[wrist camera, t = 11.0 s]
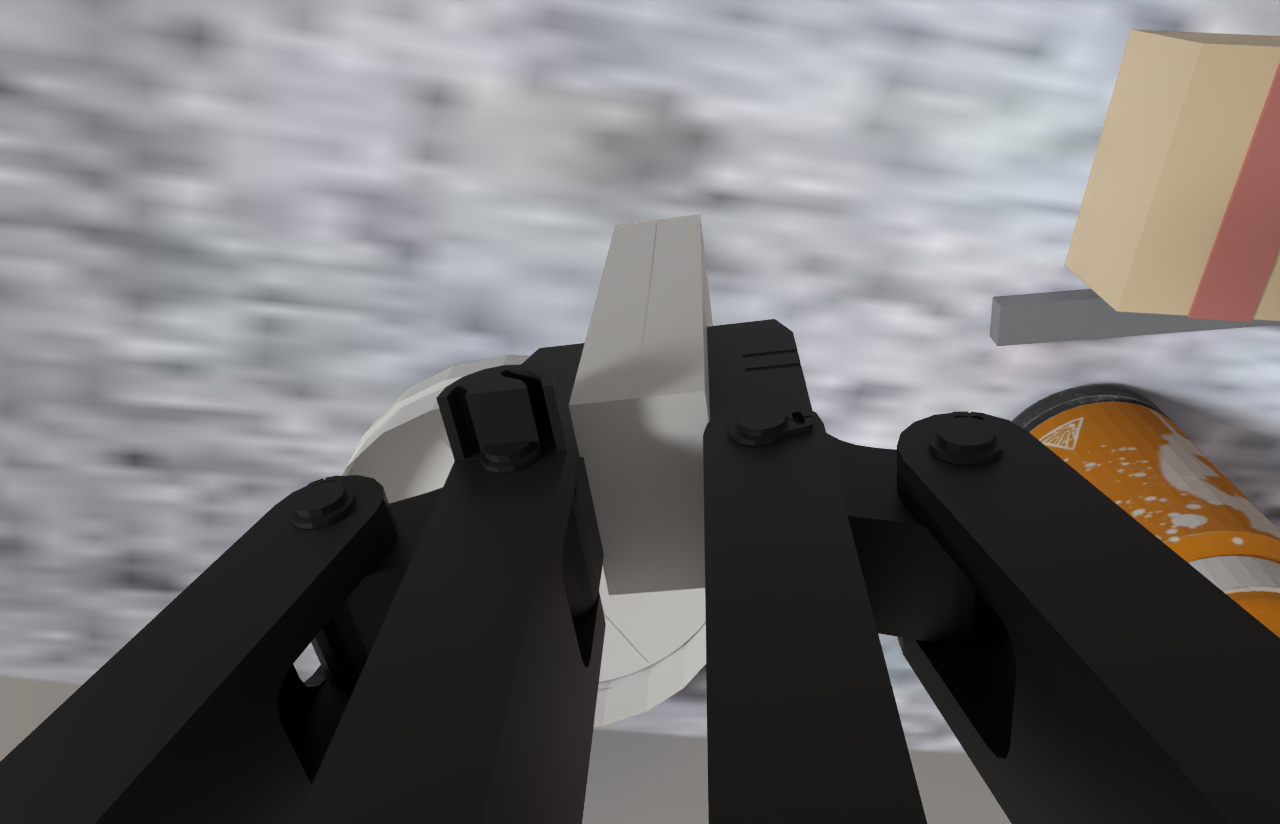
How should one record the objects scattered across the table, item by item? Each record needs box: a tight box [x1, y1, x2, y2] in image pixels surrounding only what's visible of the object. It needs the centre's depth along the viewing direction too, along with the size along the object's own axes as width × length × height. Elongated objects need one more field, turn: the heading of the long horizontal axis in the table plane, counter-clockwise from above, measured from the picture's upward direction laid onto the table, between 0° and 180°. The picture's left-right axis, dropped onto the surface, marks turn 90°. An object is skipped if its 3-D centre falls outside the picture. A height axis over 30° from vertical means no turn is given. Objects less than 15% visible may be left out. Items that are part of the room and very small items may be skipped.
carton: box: [1065, 30, 1280, 322], centre depth 35 cm, size 10×8×6 cm
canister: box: [1012, 385, 1280, 638], centre depth 36 cm, size 9×11×20 cm
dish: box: [342, 355, 706, 727], centre depth 47 cm, size 22×22×5 cm
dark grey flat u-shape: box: [990, 289, 1280, 346], centre depth 35 cm, size 22×18×1 cm
